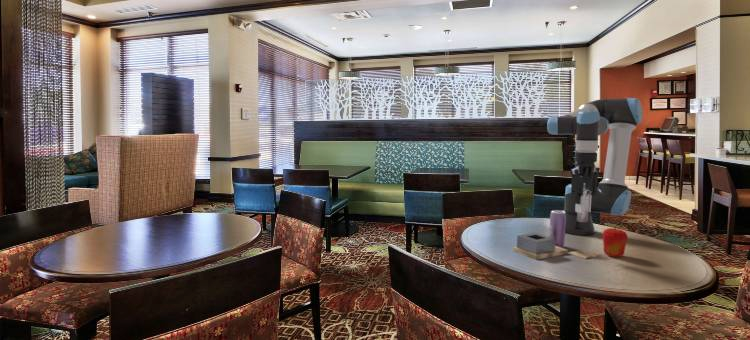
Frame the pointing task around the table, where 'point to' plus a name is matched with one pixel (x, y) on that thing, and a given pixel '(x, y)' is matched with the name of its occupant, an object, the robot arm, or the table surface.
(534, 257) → the oak board
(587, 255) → the cork coaster
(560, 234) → the beverage can
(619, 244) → the apple
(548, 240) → the socket block
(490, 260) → the table surface
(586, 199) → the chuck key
